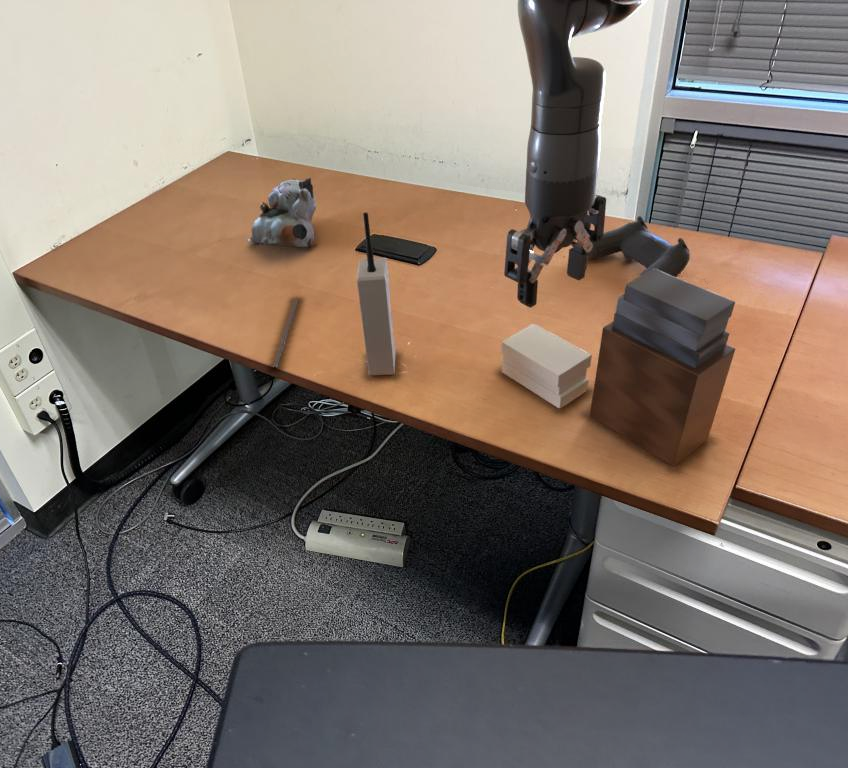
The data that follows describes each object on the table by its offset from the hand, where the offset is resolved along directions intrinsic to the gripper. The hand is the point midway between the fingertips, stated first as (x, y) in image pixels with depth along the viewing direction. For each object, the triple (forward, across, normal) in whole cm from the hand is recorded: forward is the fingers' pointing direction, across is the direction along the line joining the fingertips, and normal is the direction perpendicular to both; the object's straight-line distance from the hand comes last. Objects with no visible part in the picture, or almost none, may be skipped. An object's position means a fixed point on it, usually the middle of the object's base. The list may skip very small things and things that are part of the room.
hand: (552, 290), depth 85 cm
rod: (+15, -20, +36) cm, 44 cm away
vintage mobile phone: (+15, -14, +18) cm, 28 cm away
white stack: (+15, 0, 0) cm, 15 cm away
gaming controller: (+15, +32, +10) cm, 36 cm away
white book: (+11, 0, 0) cm, 11 cm away
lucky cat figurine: (+15, -4, +63) cm, 65 cm away
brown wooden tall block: (+15, +2, -14) cm, 21 cm away
